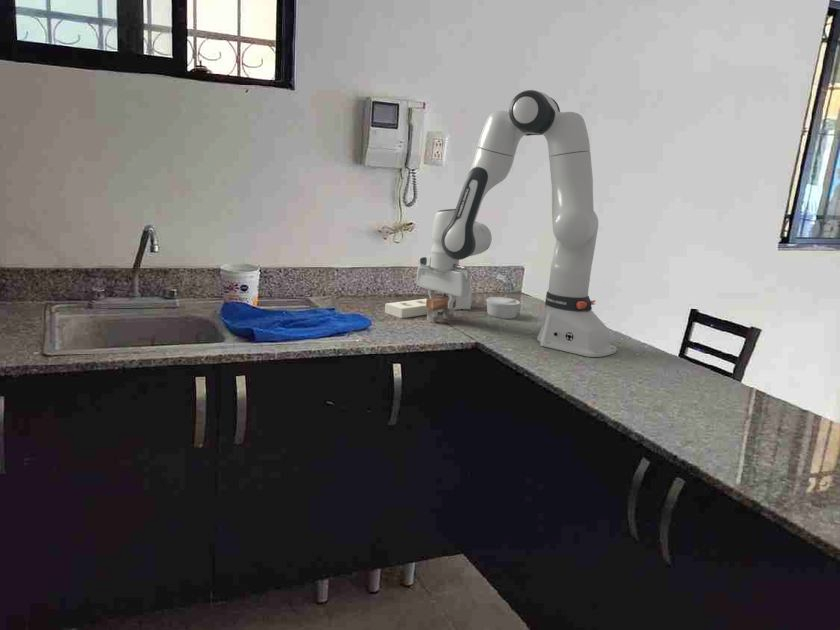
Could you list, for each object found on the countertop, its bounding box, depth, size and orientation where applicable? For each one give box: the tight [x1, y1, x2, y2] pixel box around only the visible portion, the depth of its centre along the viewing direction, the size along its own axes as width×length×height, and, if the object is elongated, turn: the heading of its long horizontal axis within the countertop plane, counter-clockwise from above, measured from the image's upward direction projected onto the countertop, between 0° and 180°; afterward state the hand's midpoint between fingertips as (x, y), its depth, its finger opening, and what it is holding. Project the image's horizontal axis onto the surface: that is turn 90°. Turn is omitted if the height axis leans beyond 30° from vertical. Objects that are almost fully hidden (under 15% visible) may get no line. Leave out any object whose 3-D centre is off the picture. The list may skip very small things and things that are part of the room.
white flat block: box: [384, 298, 443, 319], centre depth 216 cm, size 8×18×3 cm, turn 133°
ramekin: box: [486, 296, 521, 320], centre depth 220 cm, size 11×11×5 cm
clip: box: [426, 296, 456, 324], centre depth 207 cm, size 3×10×7 cm, turn 133°
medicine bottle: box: [443, 287, 473, 311], centre depth 227 cm, size 7×7×12 cm
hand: (441, 306), depth 206 cm, fingers open, 5 cm apart
